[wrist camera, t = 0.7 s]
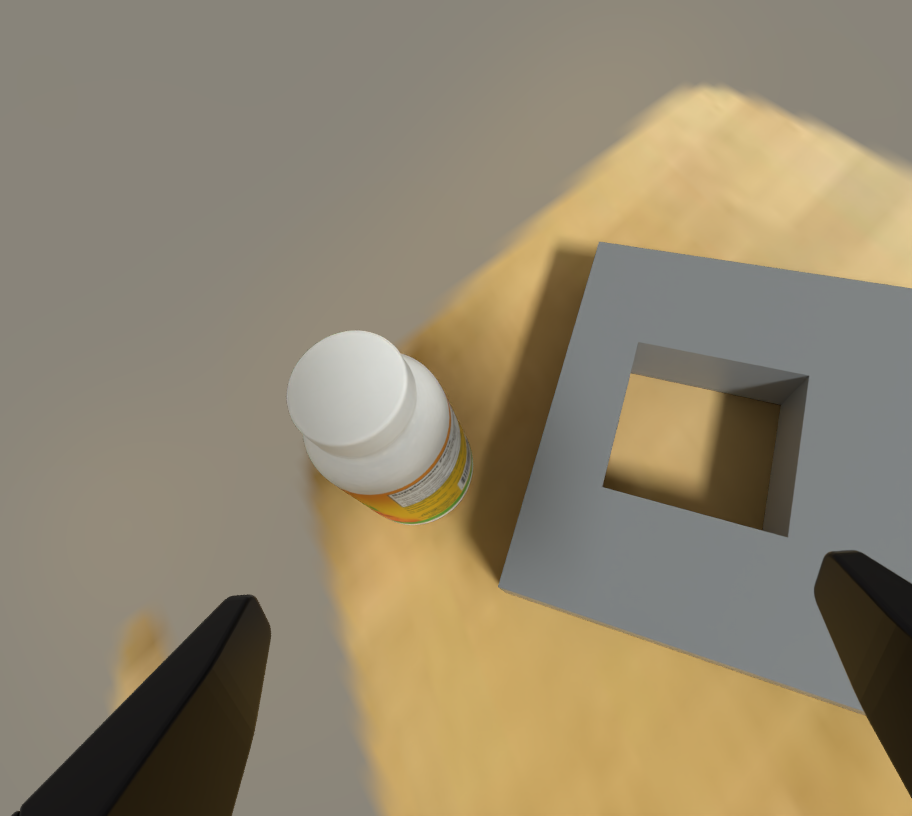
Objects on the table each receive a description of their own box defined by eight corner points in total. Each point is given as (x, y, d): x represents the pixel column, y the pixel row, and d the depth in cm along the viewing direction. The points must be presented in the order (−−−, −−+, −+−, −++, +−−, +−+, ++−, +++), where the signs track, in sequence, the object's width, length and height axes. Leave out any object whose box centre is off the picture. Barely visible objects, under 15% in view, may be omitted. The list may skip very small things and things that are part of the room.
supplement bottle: (343, 460, 27) (236, 375, 18) (432, 395, 27) (370, 281, 18) (402, 551, 24) (313, 505, 16) (498, 479, 25) (464, 394, 16)
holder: (954, 745, 19) (1021, 765, 16) (505, 592, 23) (497, 586, 20) (966, 342, 24) (1020, 304, 21) (595, 279, 28) (599, 241, 25)
